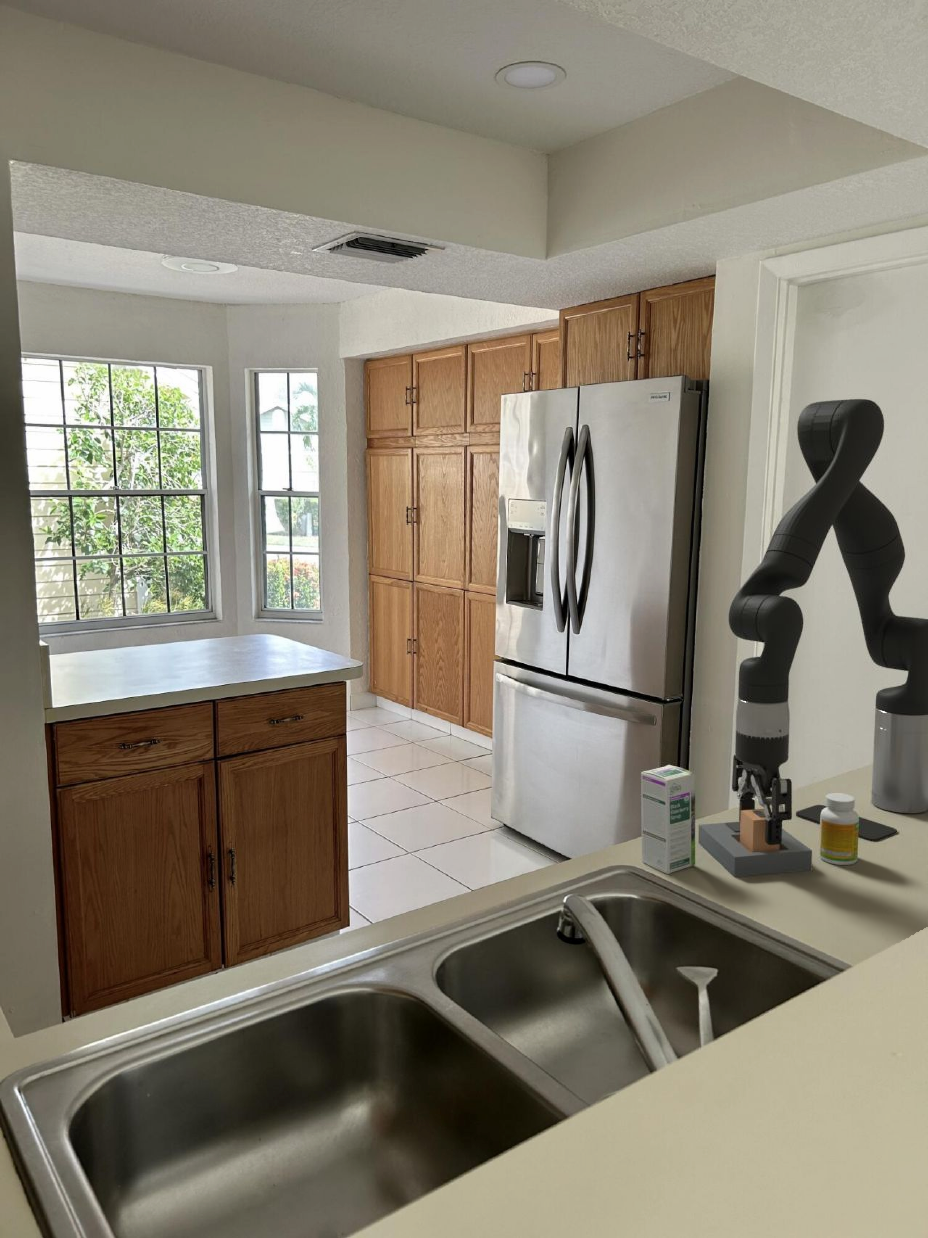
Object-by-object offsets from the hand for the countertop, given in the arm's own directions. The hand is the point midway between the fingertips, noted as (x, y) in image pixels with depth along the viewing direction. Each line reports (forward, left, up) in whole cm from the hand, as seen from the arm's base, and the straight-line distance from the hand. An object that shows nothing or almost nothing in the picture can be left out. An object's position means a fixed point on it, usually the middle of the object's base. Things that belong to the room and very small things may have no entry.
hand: (759, 833), depth 137 cm
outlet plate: (0, -2, -4) cm, 5 cm away
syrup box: (+14, -2, -5) cm, 15 cm away
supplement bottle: (-12, +2, -5) cm, 13 cm away
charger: (0, 0, -4) cm, 4 cm away
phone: (-21, -12, -5) cm, 24 cm away
